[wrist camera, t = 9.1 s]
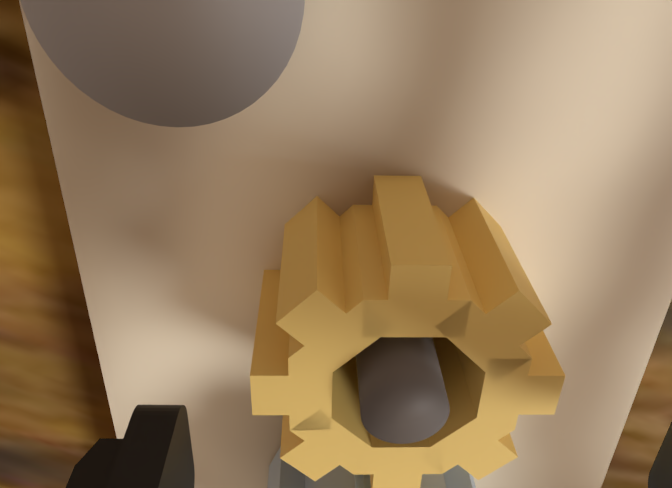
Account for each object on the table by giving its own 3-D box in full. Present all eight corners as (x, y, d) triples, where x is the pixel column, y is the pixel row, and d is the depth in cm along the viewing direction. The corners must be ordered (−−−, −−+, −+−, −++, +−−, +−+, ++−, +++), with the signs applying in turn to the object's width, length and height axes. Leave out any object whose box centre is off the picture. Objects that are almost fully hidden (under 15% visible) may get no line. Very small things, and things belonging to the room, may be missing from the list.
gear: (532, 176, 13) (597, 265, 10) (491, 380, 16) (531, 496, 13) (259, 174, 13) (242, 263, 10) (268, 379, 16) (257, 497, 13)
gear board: (808, -226, 11) (1183, -305, 6) (551, 538, 22) (615, 717, 17) (1, -256, 10) (-260, -366, 6) (159, 541, 22) (115, 726, 17)
